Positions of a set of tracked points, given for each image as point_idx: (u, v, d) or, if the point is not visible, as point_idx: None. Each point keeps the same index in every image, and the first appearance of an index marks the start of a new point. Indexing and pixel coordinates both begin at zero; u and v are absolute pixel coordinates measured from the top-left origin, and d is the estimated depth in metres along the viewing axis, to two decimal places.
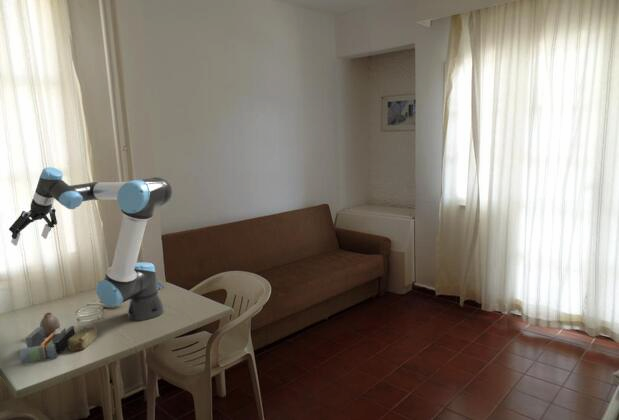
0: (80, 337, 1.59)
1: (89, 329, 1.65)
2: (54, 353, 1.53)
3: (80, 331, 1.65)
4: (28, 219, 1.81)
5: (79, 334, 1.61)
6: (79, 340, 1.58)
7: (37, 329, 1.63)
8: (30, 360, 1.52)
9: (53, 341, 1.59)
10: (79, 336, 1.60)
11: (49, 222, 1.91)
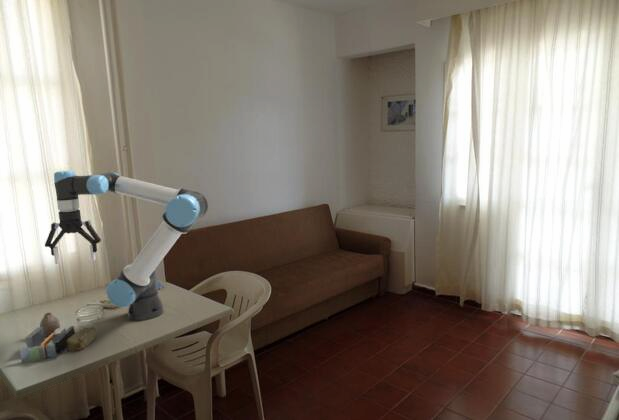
0: (79, 337, 1.59)
1: (88, 329, 1.65)
2: (54, 353, 1.53)
3: (79, 331, 1.65)
4: (60, 232, 1.71)
5: (79, 334, 1.61)
6: (78, 340, 1.58)
7: (37, 329, 1.63)
8: (30, 360, 1.52)
9: (53, 341, 1.59)
10: (79, 336, 1.60)
11: (87, 238, 1.72)
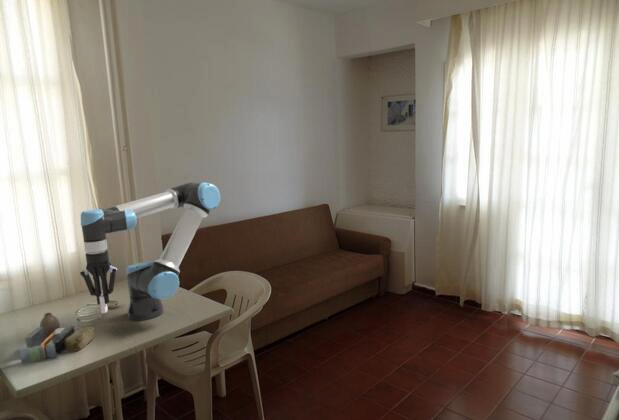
0: (76, 337, 1.59)
1: (87, 329, 1.65)
2: (54, 353, 1.53)
3: (78, 331, 1.65)
4: None
5: (77, 335, 1.61)
6: (75, 340, 1.58)
7: (37, 329, 1.63)
8: (30, 360, 1.52)
9: (53, 341, 1.59)
10: (76, 336, 1.60)
11: (103, 287, 1.60)
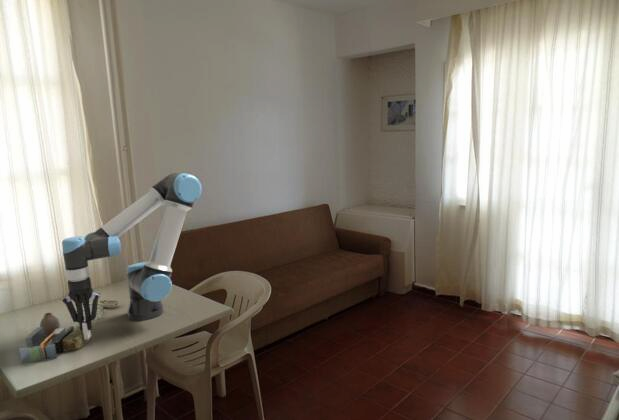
0: (74, 337, 1.59)
1: None
2: (54, 353, 1.53)
3: (75, 331, 1.65)
4: None
5: (74, 334, 1.61)
6: (73, 340, 1.58)
7: (37, 329, 1.63)
8: (30, 360, 1.52)
9: (52, 341, 1.59)
10: (74, 336, 1.60)
11: (86, 313, 1.61)
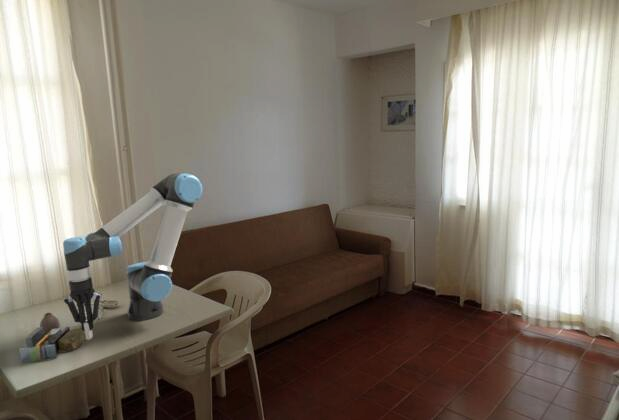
0: (70, 337, 1.59)
1: (79, 330, 1.66)
2: (54, 353, 1.53)
3: (70, 332, 1.64)
4: None
5: (69, 335, 1.61)
6: (69, 340, 1.58)
7: (37, 329, 1.63)
8: (30, 360, 1.52)
9: (48, 342, 1.59)
10: (70, 336, 1.60)
11: (87, 313, 1.61)
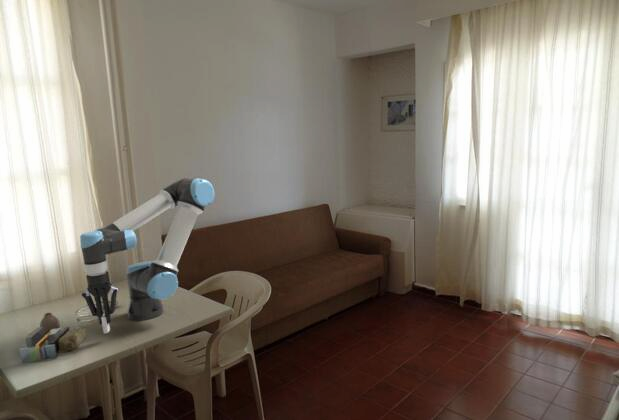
0: (70, 337, 1.59)
1: (78, 329, 1.66)
2: (54, 353, 1.53)
3: (69, 332, 1.64)
4: None
5: (69, 335, 1.61)
6: (69, 340, 1.58)
7: (37, 329, 1.63)
8: (30, 360, 1.52)
9: (48, 342, 1.59)
10: (69, 336, 1.60)
11: (105, 307, 1.62)
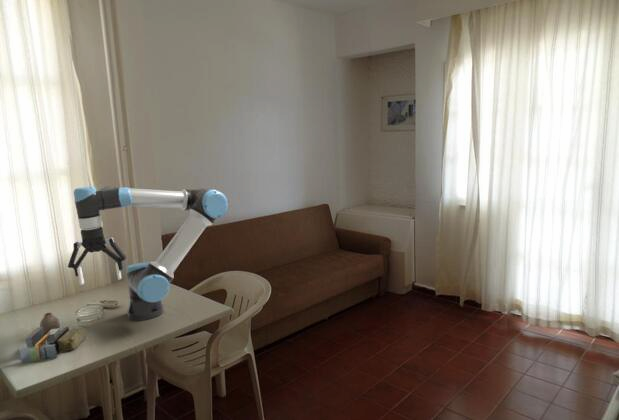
0: (69, 337, 1.59)
1: (78, 330, 1.66)
2: (54, 353, 1.53)
3: (69, 332, 1.65)
4: None
5: (68, 335, 1.61)
6: (69, 340, 1.58)
7: (37, 329, 1.63)
8: (30, 360, 1.52)
9: (47, 342, 1.59)
10: (69, 336, 1.60)
11: (112, 256, 1.64)
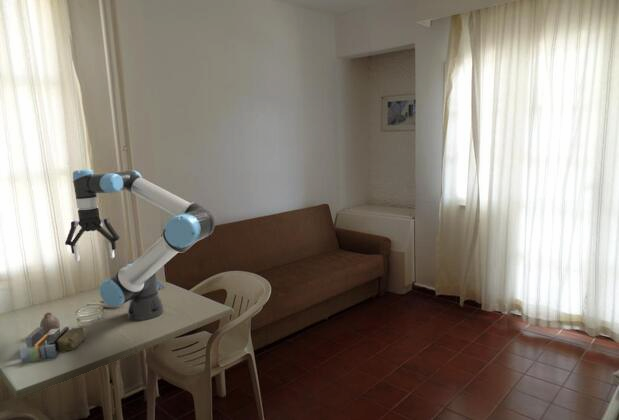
0: (69, 337, 1.59)
1: (77, 329, 1.66)
2: (54, 353, 1.53)
3: (68, 332, 1.65)
4: None
5: (68, 335, 1.61)
6: (68, 340, 1.58)
7: (37, 329, 1.63)
8: (30, 360, 1.52)
9: (47, 342, 1.59)
10: (68, 336, 1.60)
11: (106, 236, 1.74)
